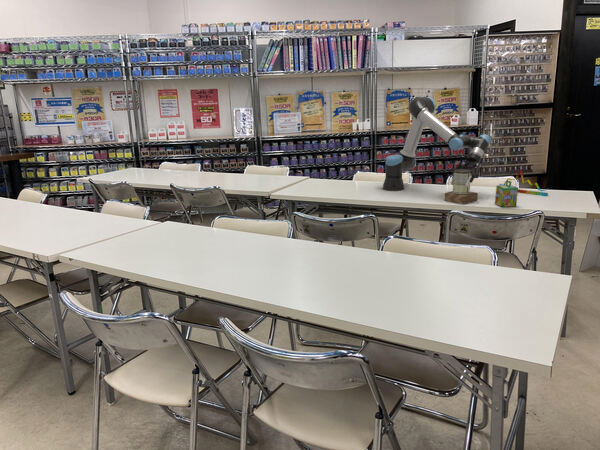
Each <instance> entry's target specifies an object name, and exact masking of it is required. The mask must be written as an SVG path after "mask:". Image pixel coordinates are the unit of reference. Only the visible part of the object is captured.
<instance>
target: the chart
mask: <svg viewBox="0 0 600 450" xmlns="http://www.w3.org/2000/svg"><path fill="white" fill-rule="evenodd" d="M519 175H520V178H521V183H522V184H525V183H528V184H529V186H533V185H535V187H536V188H537V191H536V190H527V189H520V188H518V194H525V195H535V196H542V197H547V196H549V193H548V192H546V191H548V190H549V188H546V189H542V188H540V186H539V184H538V183H537V182H535V183H532V182H531V181H530V180H529V179H527V180H525V181H524V175H523V171H522V170H521V169H520V170H519V171H518V173H517V175H516V177H515V178H507V179H506V180H505V182H504V183H503V184H502V183H499V184H498V185H506V183H507V180H508V181H513V180H517V179H518V177H519Z"/></svg>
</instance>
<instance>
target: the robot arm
mask: <svg viewBox="0 0 600 450" xmlns="http://www.w3.org/2000/svg"><path fill="white" fill-rule="evenodd" d="M436 107H437V105H436V102H435V100H434V99H433V98H431V97H427V96H424V97H415V98H413V99H412V100H410V101H409V104H408V111H409V113H410V115H411V116H412V122H411V123H410V124H411V125H410V127H409V130H408V134H407V137H406V138H405V139H406V140H405V143H404V145H403V149H401V150H400V151H399V154H393V155H392V154H391V155H388V156H387V157H386V158H385V176H384V177H385V179H384V181H383V184H382V189H383V190H386V191H391V192H392V191H393V192H395V191H397V192H398V191H403V190H405V183H404V180H403V173H404V172H409V171H411V170H413V169H414V168H415V166H416V164H417V160H416V156H417V155H416V150H417V147H418V144H419V142H420V139H421V136H422V133H423V131H424V127H425V126H427V127H428V128H430V130H432V131H433V132H434V133H435V134H436V135H438V136H439V137H440V138H441V139H442V140H444V141H445V142H446V143H448V146H449V148H450V149H451V150H453V151H459V150H461V149H466V148H469V149H471V151H470V153H469V154H468V156H467V158H466V160H465V161H462V160H461V161H460V162H459V163H458V165H457V166H456V167H455V168H454V169H453V170H452V171H451V173H452V176H451V180H450V184H451V185H452V186H453V178H454V170H455V169H469V170H471V176H470V177H469V179H468V181H467V183H466V184H465V185H466V186H467V187H469V185H470V186H471V184H472V183H473V182H474V179H479V174H480V172H481V169H482V164H481V163H480V162H481V159H483V157H484V154H485V153H486V152H487V151H486V150H488V147H489V146H490V143H491V141H492V139H491V136H489V135H487V134H486V133H484V134H481V135H479V137H478V136H474V135H473V136H472V135H467V134H460V135H458V134H457V133H456V132H455V131H454V130H452V129H451V128H450V127H449V126H447V124H445V123H444V122H442V121H441V120H440V119H439V118H437V117H436V115H434V114H433V113H434V112H435V111H436Z"/></svg>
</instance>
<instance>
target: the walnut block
mask: <svg viewBox="0 0 600 450" xmlns="http://www.w3.org/2000/svg"><path fill="white" fill-rule="evenodd" d="M478 195H479V192H475V191H470V193H469V194H455V193H453V190H451V191H447V192H444V201H445V202H449V203H453V204H454V203H455V204H461V205H467V204H471V203H474V202H477V201H478Z"/></svg>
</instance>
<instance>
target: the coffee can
mask: <svg viewBox="0 0 600 450" xmlns="http://www.w3.org/2000/svg"><path fill="white" fill-rule="evenodd" d="M454 169H455V168H454ZM454 169H453V170H454ZM471 175H472V172H471V169H455V170H454V178H453V185H452V191H453V193H455V194H469V193H470V192H471V191H470V189H471V184H470V185H469V187H467V186H466V185H465V184H466V183H467V181H468V179H469V177H470V176H471Z"/></svg>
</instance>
